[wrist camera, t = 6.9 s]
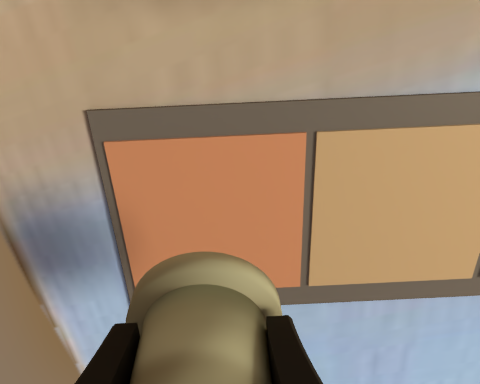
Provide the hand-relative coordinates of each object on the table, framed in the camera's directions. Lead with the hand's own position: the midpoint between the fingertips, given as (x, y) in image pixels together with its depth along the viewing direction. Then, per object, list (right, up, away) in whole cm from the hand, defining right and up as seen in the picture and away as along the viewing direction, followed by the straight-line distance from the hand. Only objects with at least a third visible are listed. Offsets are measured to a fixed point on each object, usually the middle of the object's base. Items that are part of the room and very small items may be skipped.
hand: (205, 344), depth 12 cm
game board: (+8, +4, +6) cm, 10 cm away
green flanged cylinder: (0, +1, +1) cm, 1 cm away
